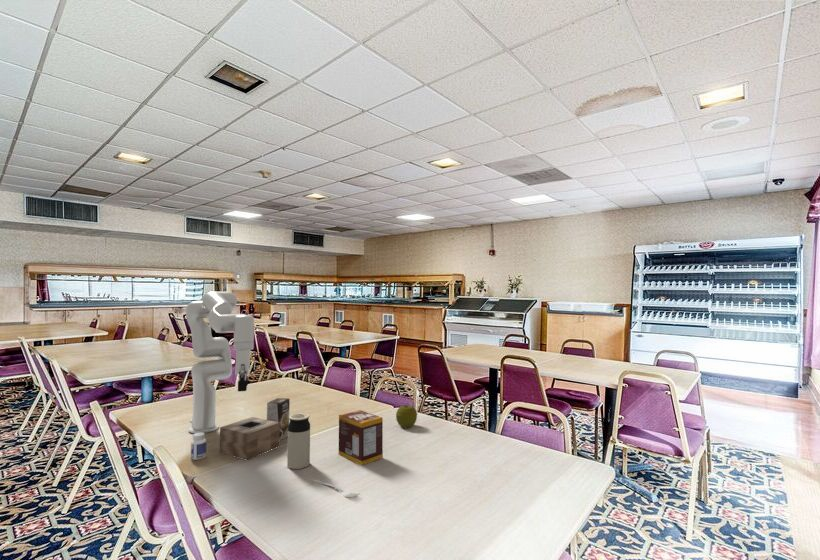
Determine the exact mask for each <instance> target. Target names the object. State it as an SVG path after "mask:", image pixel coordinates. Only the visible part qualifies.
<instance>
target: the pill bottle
mask: <svg viewBox="0 0 820 560" xmlns="http://www.w3.org/2000/svg"><path fill="white" fill-rule="evenodd" d="M192 435H193V436H192V439H193V440H191V444H190V459H191V460H194V461H195V460H197V461H198V460H202V459H204V458H206V457H207V439H206V438H205V436H206V433H203V432H200V433H193V434H192Z"/></svg>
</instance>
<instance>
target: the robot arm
mask: <svg viewBox="0 0 820 560" xmlns="http://www.w3.org/2000/svg"><path fill="white" fill-rule="evenodd" d="M237 304H238V299H237V296H236V295H235V293H234V292H232V291H209V292H207V293H205V294H204V295H203V296H202V298H201V300H194V301H192V302H189V303H188V304H187V305H186V307H185V316H186V317H185V318H186V321H187V325H188V326H189V328H190V332H191V343H192V352H193V356H194V358H195V359H196V358H197V359H208V360H202V361H198V362H196V363H194V364H193V365H192V367H191V374H190V375H191V378H192V391H193V393H192V419H190V420H189V421H188V422H189V424H191V425H190V427H188V433H190V434H195V433H200V432H203V433H205V434H206V433H210V432H214V431H216V430H218V429H220V428H219V426H220V424H219V423H217V422H216V407H217V405H216V402H217V391H216V390H217V389H216V387H215V386H214V385H213V384H212V383H211V382H213V381H219V380H226V379H228V378H230V377H231V376H232V373H233V364H232V355H231V346H230V343H229V340H228V339H227V338H225V337H223V336H218V337H216V336H215V337H213V335H212V330H213V331H215V332H216V333H218V334H228V333H233V351H235V366H234V367H235V372H234V375H235V376H236V377H237V376H238V380H237V392H246V391H247V389H248V385H249V384H248V383H249V376H248V375H249V372H250V366H251V350H254V347H255V345H254V344H255V339H254V337H255V336H254V335H255V332H254V331H255V318H254V315H249V314H244V313H236V314H235V313H232V312H233V310H234V309H236V306H237ZM205 319H207V321H208V322H207V321H205ZM211 358H217V359H211ZM209 359H210V360H209Z"/></svg>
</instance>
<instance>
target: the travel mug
mask: <svg viewBox="0 0 820 560" xmlns="http://www.w3.org/2000/svg"><path fill="white" fill-rule="evenodd" d="M310 417H311V416H310V414H308V413H305V412H300V413H292V414H289V425H288V435H287V456H286V457H287V464H286V465H287V467H288V468H289V469H292V470H300V469H305V468H306V467H309V465H310V462H311V423H310V421H309V419H310ZM304 467H305V468H304Z"/></svg>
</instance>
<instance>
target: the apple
mask: <svg viewBox="0 0 820 560" xmlns="http://www.w3.org/2000/svg"><path fill="white" fill-rule="evenodd" d="M417 417H418V412H417V409H416V408H415V407H413V406H412V405H408V403H406V404H405V405H404V404H403V405H400V406H399V407H398V409H397V410H396V413H395V419H396V422H397V424H398V425H399V426H400V427H402V428H405V427H406V429H407V428H408V427H409V428H411V427H414V425H415V424H416V421H417V420H418V419H417Z"/></svg>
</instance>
